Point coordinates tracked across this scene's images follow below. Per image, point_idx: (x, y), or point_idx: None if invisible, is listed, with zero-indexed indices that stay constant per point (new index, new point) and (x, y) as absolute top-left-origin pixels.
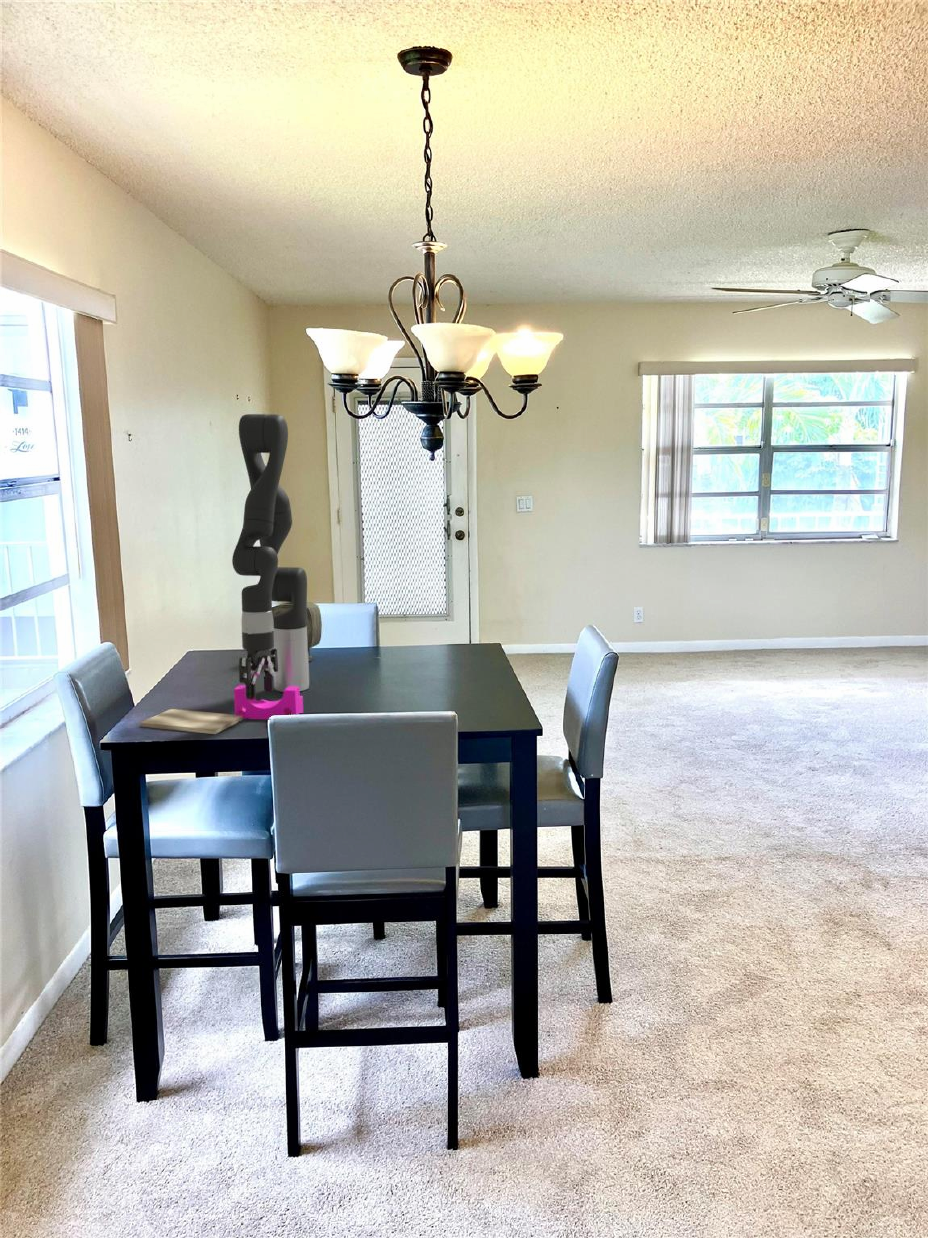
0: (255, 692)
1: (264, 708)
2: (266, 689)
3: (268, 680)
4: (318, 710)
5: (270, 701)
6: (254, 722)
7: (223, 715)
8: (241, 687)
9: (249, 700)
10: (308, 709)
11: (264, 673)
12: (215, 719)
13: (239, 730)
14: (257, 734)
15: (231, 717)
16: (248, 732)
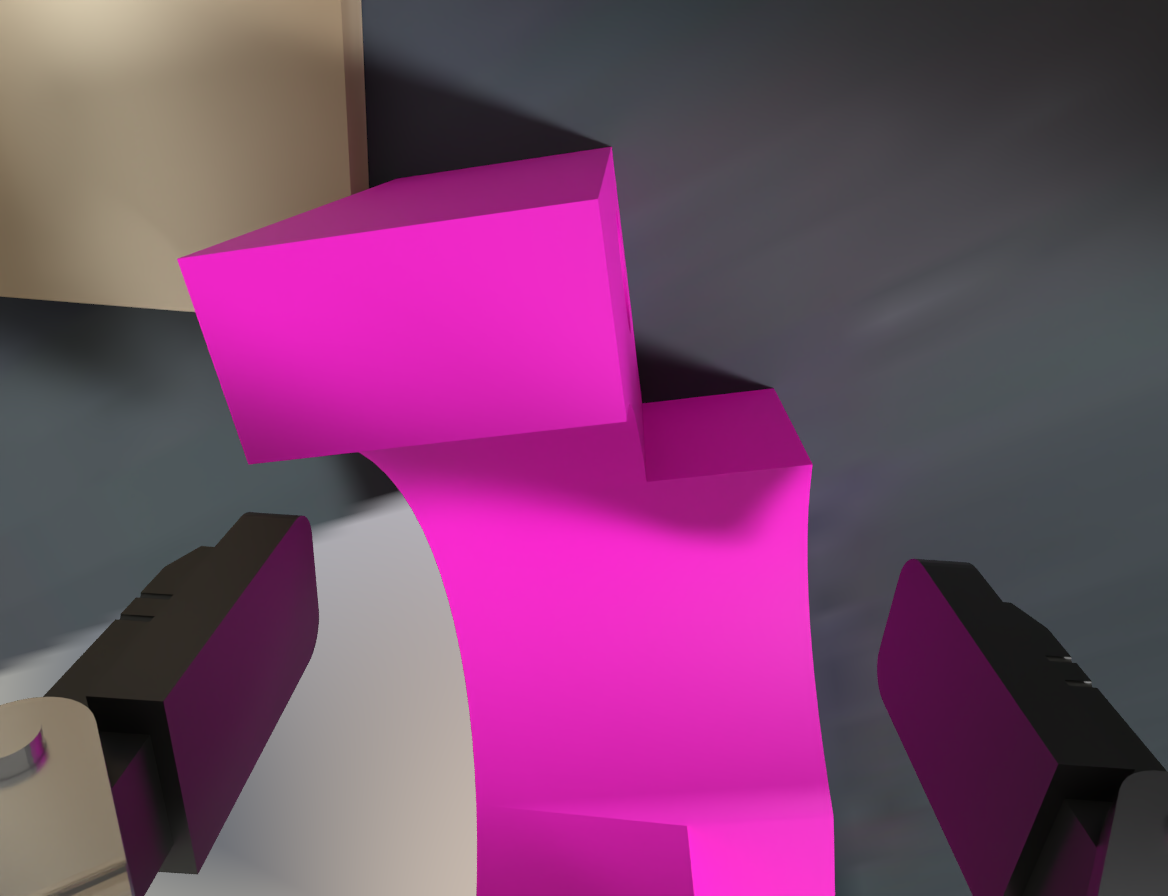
0: (275, 720)
1: (453, 618)
2: (911, 602)
3: (970, 785)
4: (894, 872)
5: (803, 565)
6: (332, 483)
7: (262, 24)
8: (398, 370)
9: (431, 454)
10: (924, 793)
11: (1103, 855)
12: (32, 9)
13: (13, 456)
14: (7, 662)
15: (222, 210)
16: (10, 567)
